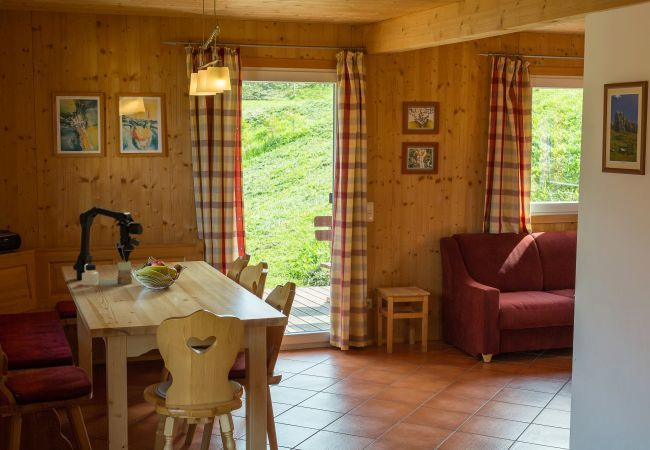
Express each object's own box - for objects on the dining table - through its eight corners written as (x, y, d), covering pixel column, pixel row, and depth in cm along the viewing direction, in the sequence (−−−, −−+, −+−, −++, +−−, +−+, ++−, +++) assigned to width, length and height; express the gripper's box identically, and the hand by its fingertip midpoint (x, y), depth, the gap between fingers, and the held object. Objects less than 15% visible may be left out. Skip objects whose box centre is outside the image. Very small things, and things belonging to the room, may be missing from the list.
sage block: (117, 269, 483) (117, 262, 483) (128, 268, 486) (128, 261, 486) (120, 270, 478) (120, 263, 478) (131, 269, 481) (131, 262, 481)
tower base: (117, 283, 483) (117, 276, 483) (127, 282, 487) (127, 275, 487) (121, 284, 479) (121, 277, 478) (131, 283, 482) (131, 276, 482)
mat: (94, 281, 492) (94, 280, 492) (123, 279, 500) (123, 278, 500) (105, 287, 472) (105, 286, 472) (135, 284, 480) (135, 284, 480)
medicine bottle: (98, 284, 482) (98, 263, 481) (94, 286, 475) (93, 265, 474) (86, 283, 483) (86, 263, 482) (81, 286, 476) (81, 264, 475)
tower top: (118, 276, 484) (118, 269, 484) (128, 275, 486) (128, 268, 486) (120, 277, 479) (119, 270, 478) (130, 276, 481) (130, 269, 481)
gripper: (142, 235, 482) (142, 262, 483) (134, 231, 498) (134, 258, 500) (123, 235, 477) (123, 263, 478) (115, 232, 493) (115, 258, 495)
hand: (124, 260), depth 488 cm, fingers open, 9 cm apart
